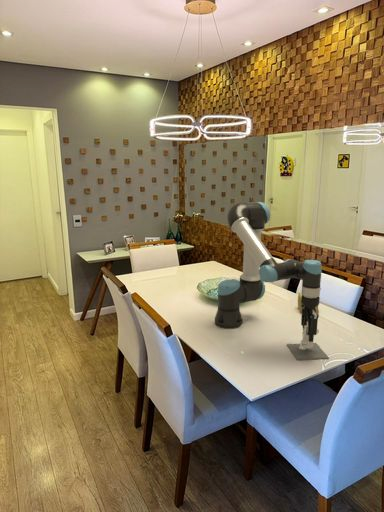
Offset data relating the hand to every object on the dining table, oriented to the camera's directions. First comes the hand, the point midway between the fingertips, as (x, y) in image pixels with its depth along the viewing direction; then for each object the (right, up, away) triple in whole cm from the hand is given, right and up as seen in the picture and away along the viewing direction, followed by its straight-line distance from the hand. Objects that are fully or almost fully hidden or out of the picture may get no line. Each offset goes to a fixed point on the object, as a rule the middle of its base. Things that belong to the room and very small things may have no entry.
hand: (307, 344), depth 159 cm
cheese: (+16, +7, +49) cm, 52 cm away
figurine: (0, -1, 0) cm, 1 cm away
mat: (0, -3, +1) cm, 3 cm away
